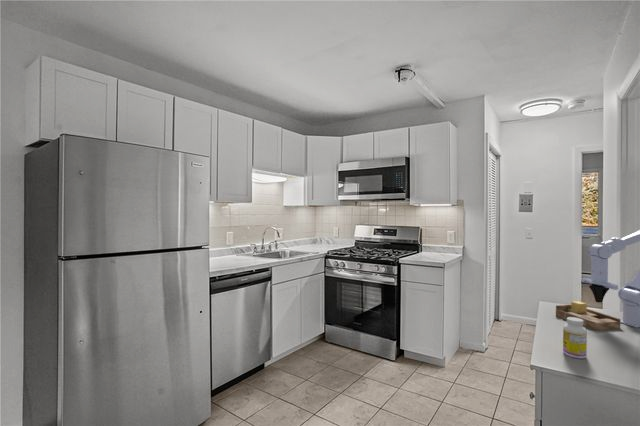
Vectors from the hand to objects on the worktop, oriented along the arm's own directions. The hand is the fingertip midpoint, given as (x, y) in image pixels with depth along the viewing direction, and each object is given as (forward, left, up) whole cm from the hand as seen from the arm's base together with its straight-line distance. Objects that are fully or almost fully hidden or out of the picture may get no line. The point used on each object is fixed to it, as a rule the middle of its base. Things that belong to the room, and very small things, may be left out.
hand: (598, 302), depth 148 cm
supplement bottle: (+39, +24, -10) cm, 47 cm away
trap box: (+2, -4, -10) cm, 11 cm away
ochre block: (0, -9, -7) cm, 12 cm away
